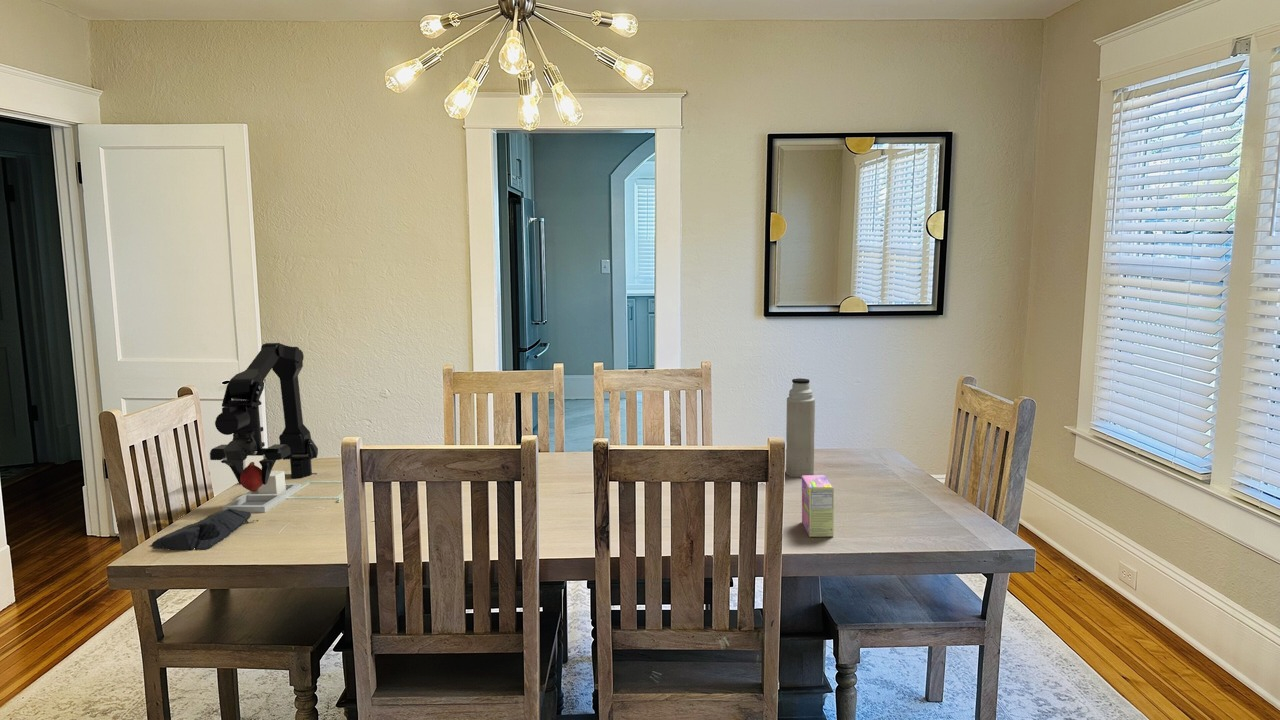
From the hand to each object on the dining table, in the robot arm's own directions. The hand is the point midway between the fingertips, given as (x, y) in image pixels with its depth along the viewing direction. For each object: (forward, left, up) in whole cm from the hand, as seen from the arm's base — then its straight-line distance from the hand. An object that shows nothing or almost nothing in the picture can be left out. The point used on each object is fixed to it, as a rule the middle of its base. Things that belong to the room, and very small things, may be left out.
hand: (253, 484), depth 210 cm
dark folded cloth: (+18, -2, -8) cm, 20 cm away
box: (+14, +143, -7) cm, 144 cm away
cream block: (-9, 0, -6) cm, 11 cm away
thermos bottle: (-33, +146, -7) cm, 150 cm away
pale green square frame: (-14, +12, -7) cm, 19 cm away
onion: (0, 0, -2) cm, 2 cm away
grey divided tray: (-5, 0, -7) cm, 8 cm away
